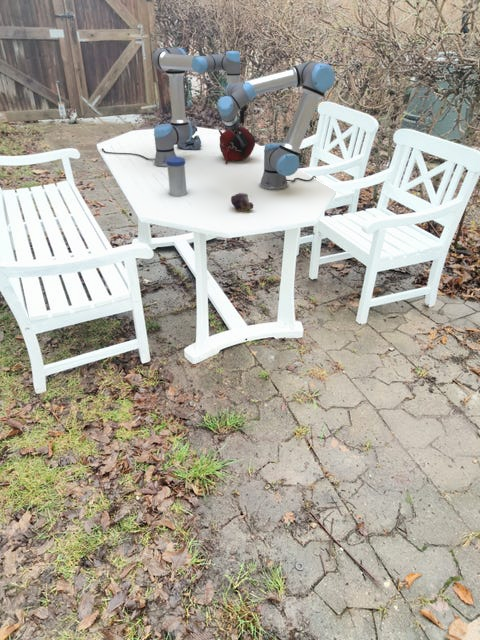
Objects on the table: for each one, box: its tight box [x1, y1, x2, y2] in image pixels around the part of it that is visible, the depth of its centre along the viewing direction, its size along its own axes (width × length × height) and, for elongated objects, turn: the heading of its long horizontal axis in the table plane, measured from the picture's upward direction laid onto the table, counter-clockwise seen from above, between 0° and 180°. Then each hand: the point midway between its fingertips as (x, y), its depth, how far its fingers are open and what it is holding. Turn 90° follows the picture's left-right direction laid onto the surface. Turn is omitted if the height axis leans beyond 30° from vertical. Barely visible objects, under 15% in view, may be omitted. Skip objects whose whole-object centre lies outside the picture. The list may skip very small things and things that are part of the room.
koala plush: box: [176, 117, 202, 151], centre depth 323 cm, size 17×18×20 cm
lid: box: [166, 156, 186, 166], centre depth 236 cm, size 10×10×2 cm
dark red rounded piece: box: [218, 126, 257, 165], centre depth 296 cm, size 21×24×25 cm
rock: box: [230, 192, 254, 211], centre depth 223 cm, size 12×9×10 cm
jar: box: [166, 163, 188, 197], centre depth 241 cm, size 9×9×18 cm
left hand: (234, 125), depth 259 cm, fingers open, 13 cm apart
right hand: (235, 137), depth 243 cm, fingers open, 13 cm apart
